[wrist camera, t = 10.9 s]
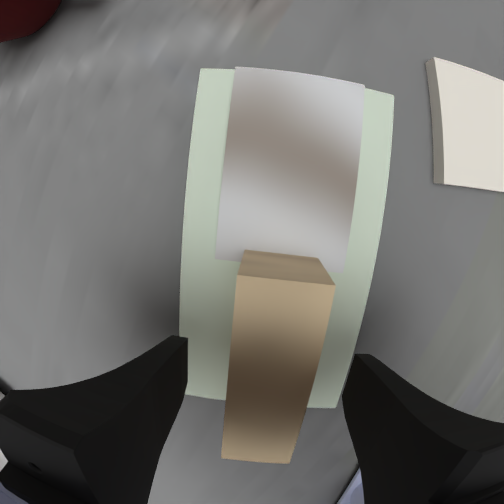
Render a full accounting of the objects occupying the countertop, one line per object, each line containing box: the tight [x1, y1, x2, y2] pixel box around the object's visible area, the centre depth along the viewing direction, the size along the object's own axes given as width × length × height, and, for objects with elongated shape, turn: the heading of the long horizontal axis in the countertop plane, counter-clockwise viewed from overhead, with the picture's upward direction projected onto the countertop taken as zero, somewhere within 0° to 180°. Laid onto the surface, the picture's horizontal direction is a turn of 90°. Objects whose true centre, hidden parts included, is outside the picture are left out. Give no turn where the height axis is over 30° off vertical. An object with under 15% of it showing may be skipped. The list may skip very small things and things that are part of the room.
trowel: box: [215, 67, 365, 464], centre depth 10 cm, size 15×5×4 cm, turn 174°
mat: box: [179, 69, 394, 408], centre depth 13 cm, size 15×8×1 cm, turn 174°
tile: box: [425, 57, 504, 192], centre depth 11 cm, size 1×6×6 cm
